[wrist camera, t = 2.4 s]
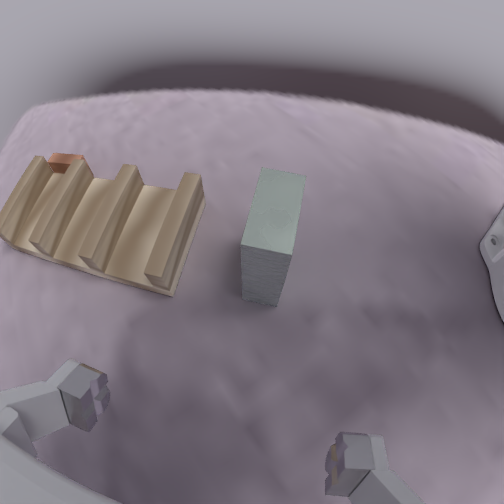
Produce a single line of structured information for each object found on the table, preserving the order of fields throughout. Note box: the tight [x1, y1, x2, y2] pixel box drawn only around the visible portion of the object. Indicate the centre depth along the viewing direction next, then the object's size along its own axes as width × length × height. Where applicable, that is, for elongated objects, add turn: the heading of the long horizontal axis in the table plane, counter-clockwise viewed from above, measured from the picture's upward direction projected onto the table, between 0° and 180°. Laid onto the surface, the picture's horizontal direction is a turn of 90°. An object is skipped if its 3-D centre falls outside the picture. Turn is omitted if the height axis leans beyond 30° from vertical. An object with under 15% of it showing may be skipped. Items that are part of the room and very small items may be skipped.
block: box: [241, 167, 306, 307], centre depth 24 cm, size 3×6×10 cm, turn 167°
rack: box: [0, 153, 206, 297], centre depth 29 cm, size 21×11×4 cm, turn 77°
